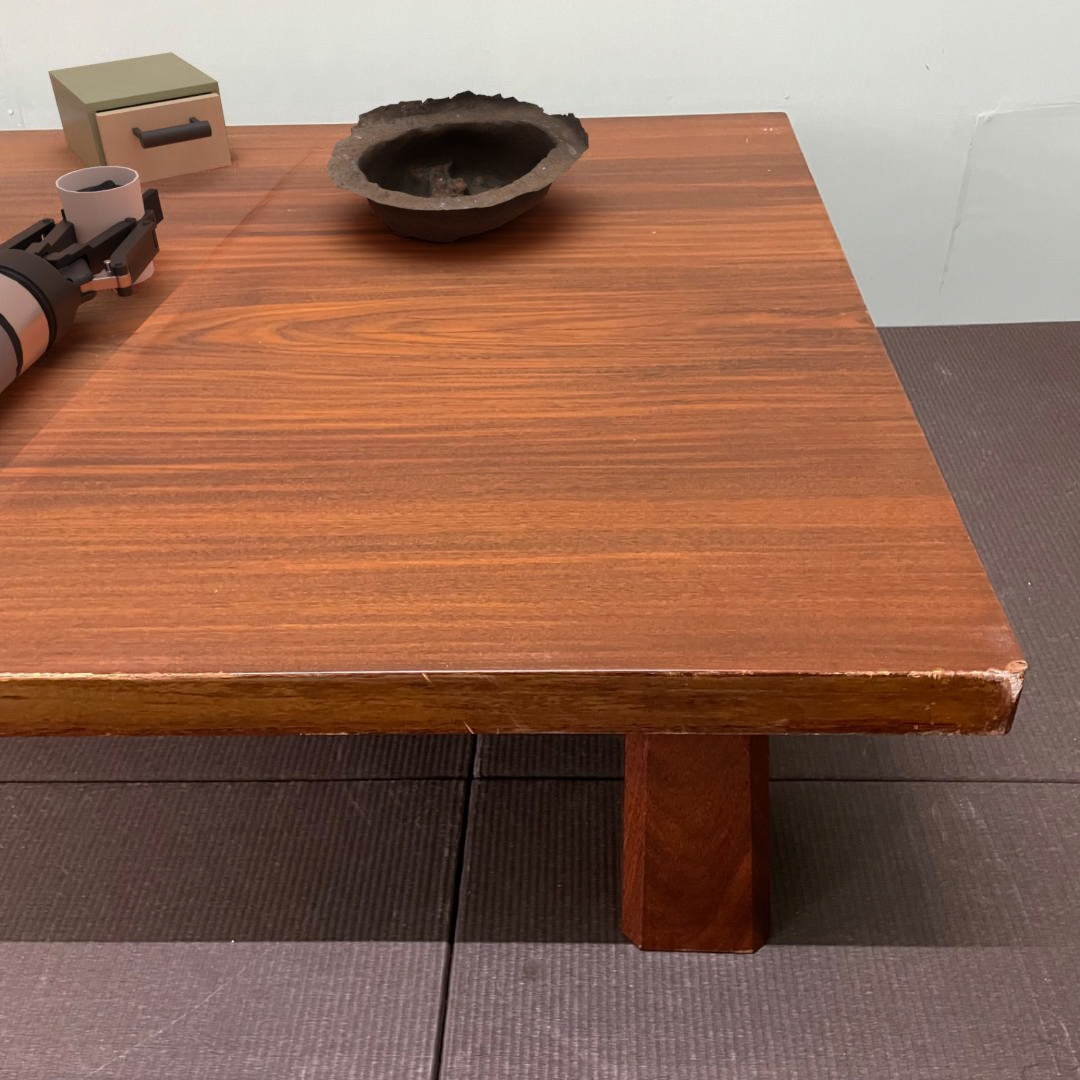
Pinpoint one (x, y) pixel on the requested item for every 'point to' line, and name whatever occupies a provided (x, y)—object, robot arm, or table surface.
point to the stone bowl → (455, 162)
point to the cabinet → (119, 94)
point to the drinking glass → (101, 201)
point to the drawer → (166, 136)
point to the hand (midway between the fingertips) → (138, 203)
